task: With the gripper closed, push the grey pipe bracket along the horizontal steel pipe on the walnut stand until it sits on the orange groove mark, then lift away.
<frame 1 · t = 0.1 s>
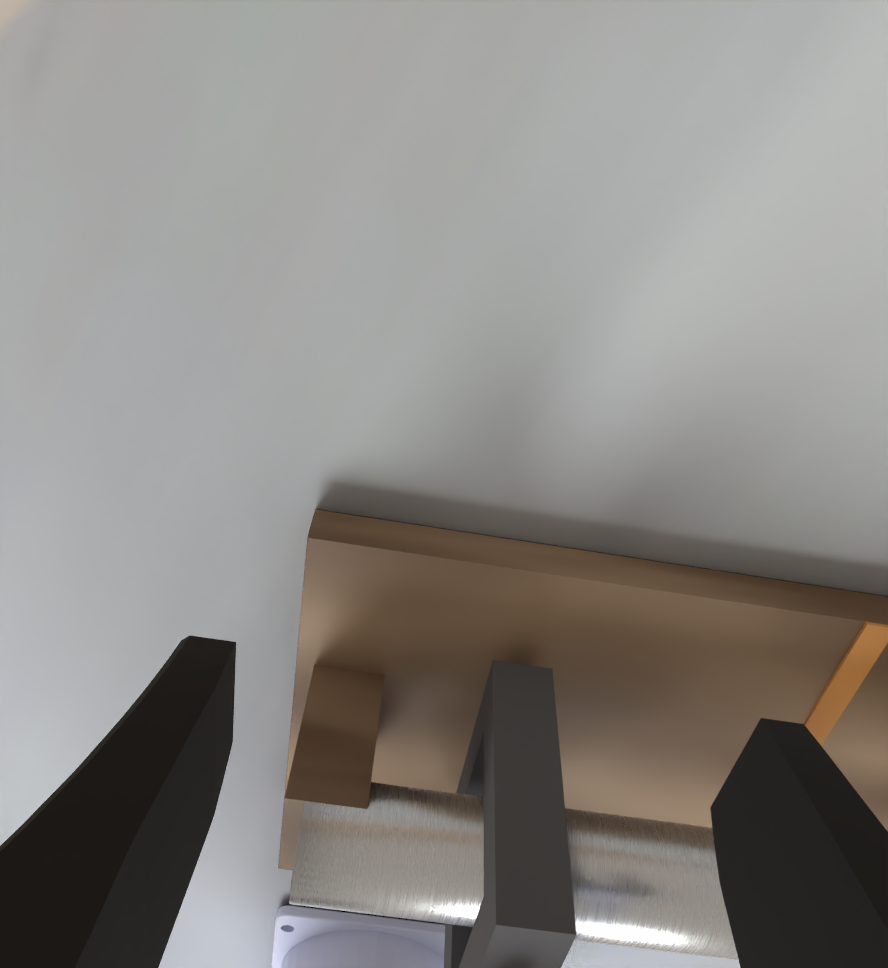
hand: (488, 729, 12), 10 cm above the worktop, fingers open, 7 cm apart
grey pipe bracket: (499, 891, 21), point 6 cm above the worktop, slide at 0.0 cm
pipe stand: (654, 717, 26), on the worktop
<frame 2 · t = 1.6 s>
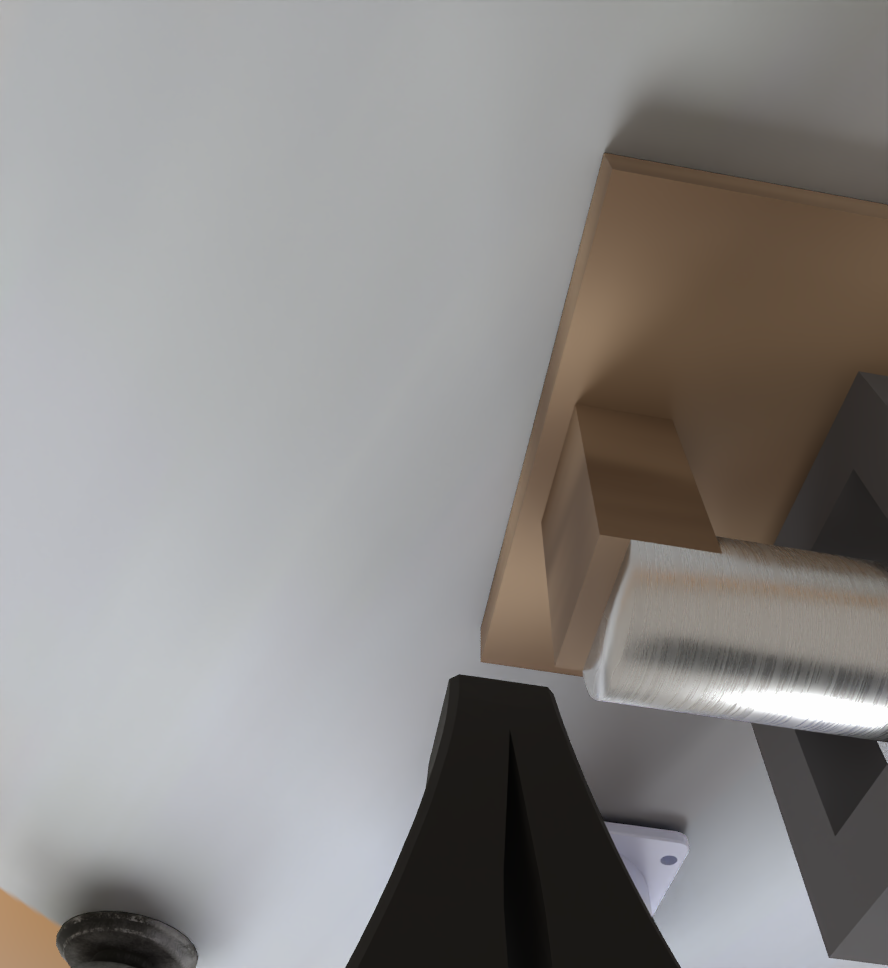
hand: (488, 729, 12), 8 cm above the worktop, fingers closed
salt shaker: (129, 944, 32), on the worktop
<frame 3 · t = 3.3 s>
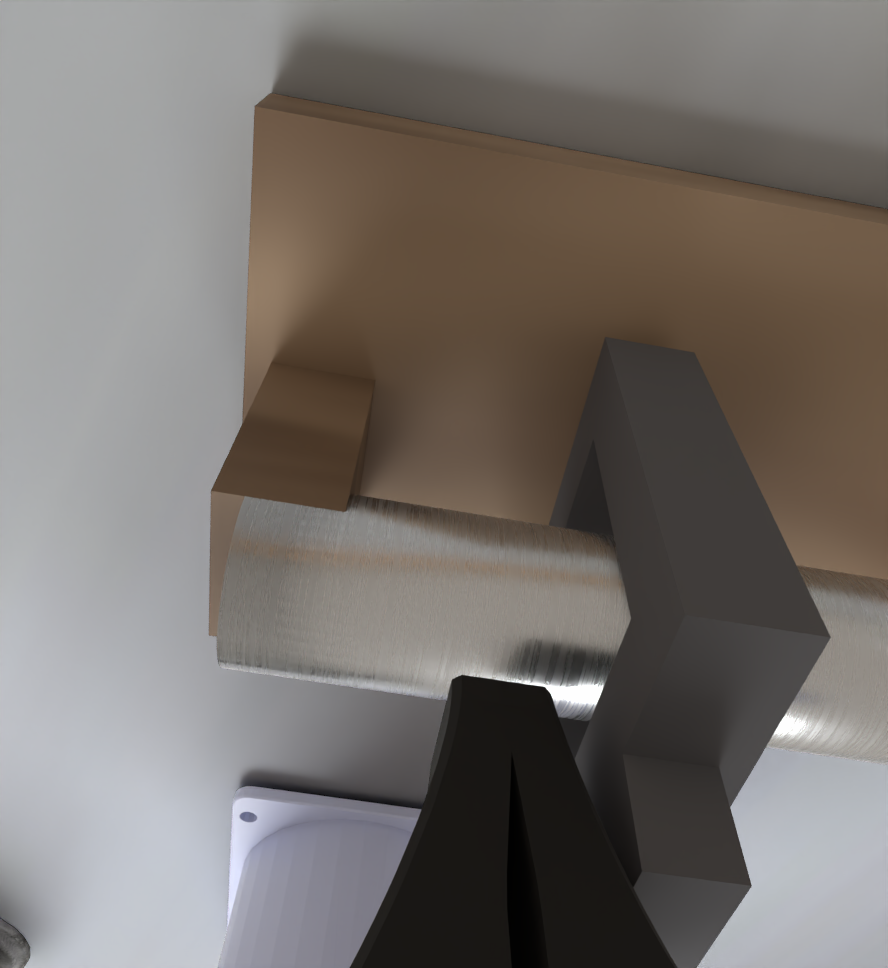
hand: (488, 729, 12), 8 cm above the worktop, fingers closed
grey pipe bracket: (626, 664, 13), point 6 cm above the worktop, slide at 1.2 cm, touching gripper
pipe stand: (756, 479, 19), on the worktop
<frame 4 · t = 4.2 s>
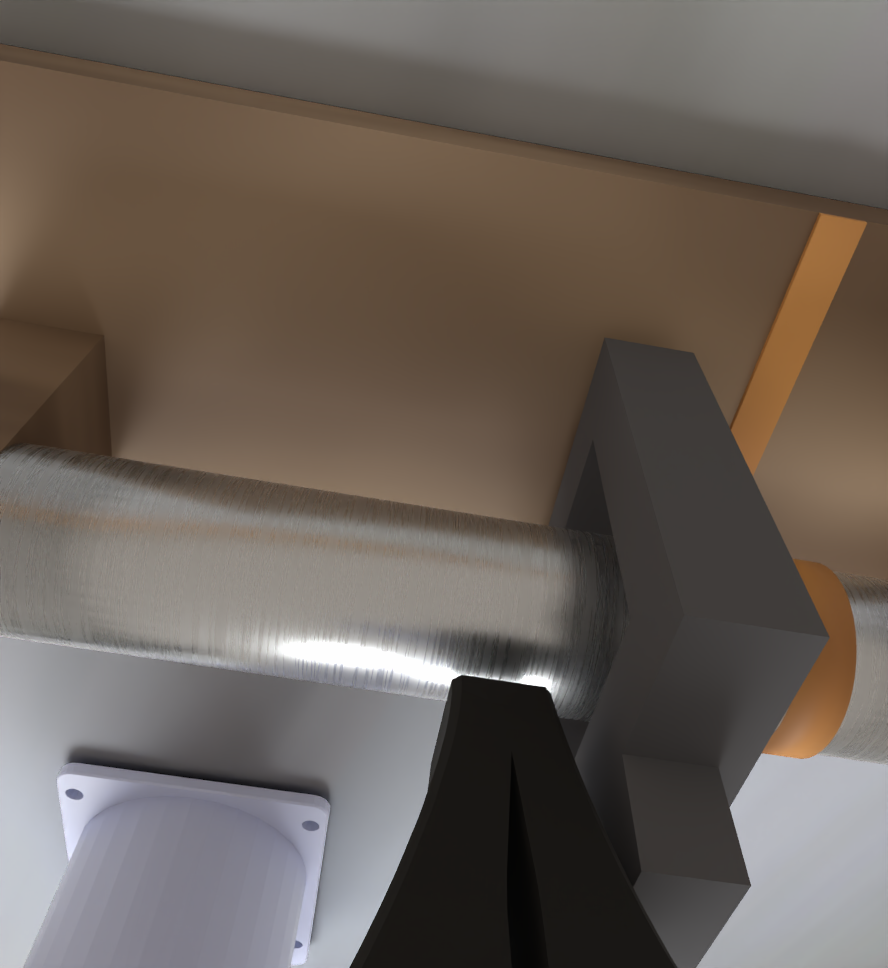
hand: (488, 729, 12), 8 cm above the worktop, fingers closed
grey pipe bracket: (626, 664, 13), point 6 cm above the worktop, slide at 6.3 cm, touching gripper
pipe stand: (526, 442, 18), on the worktop
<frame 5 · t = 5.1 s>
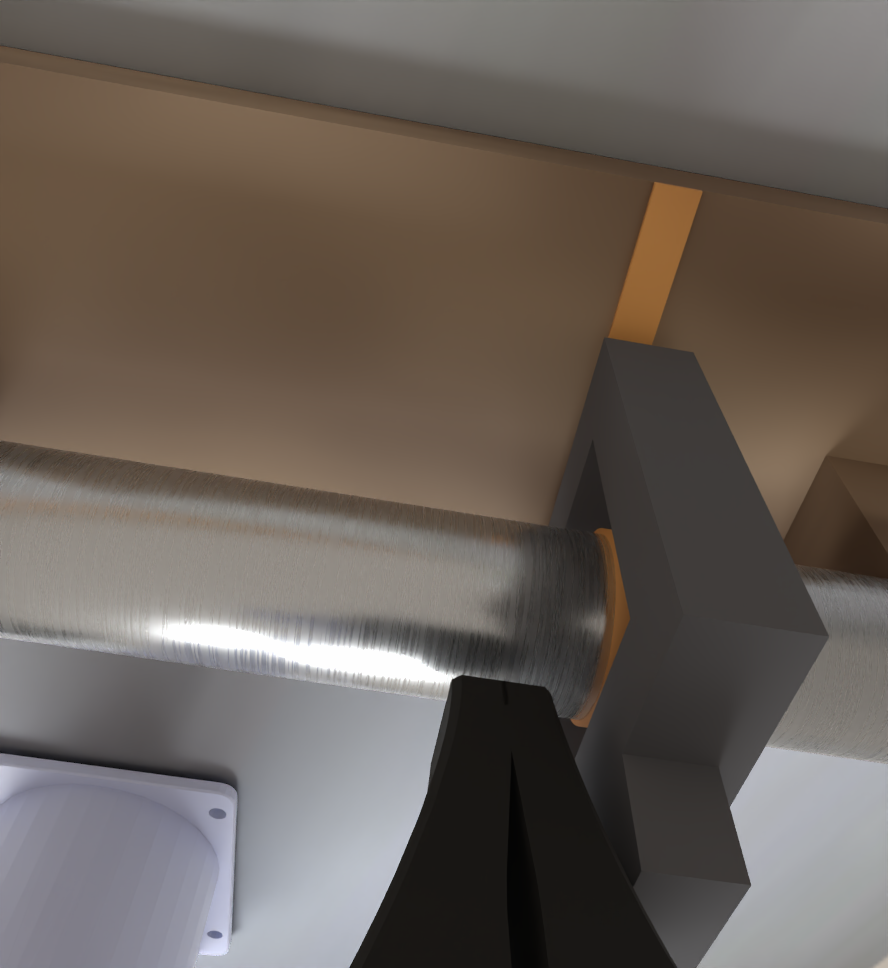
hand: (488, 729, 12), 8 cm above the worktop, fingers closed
grey pipe bracket: (626, 664, 13), point 6 cm above the worktop, slide at 9.1 cm, touching gripper
pipe stand: (397, 421, 18), on the worktop
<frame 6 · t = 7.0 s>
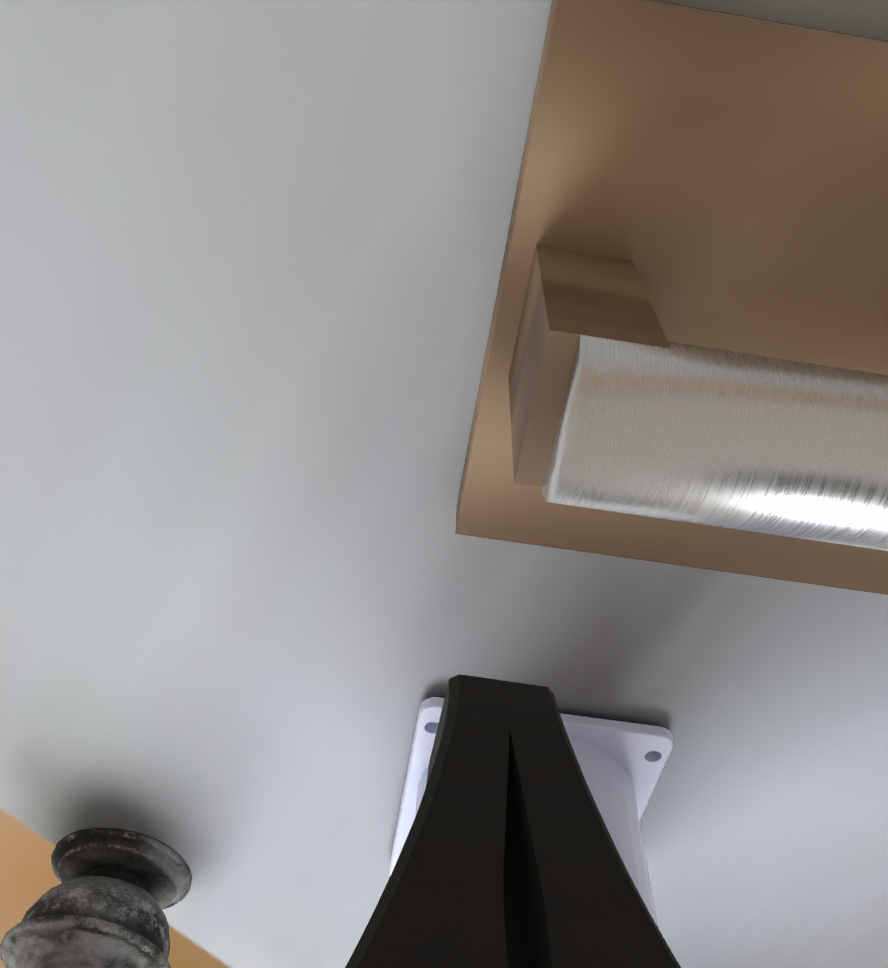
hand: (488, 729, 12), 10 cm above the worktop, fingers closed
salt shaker: (124, 865, 32), on the worktop
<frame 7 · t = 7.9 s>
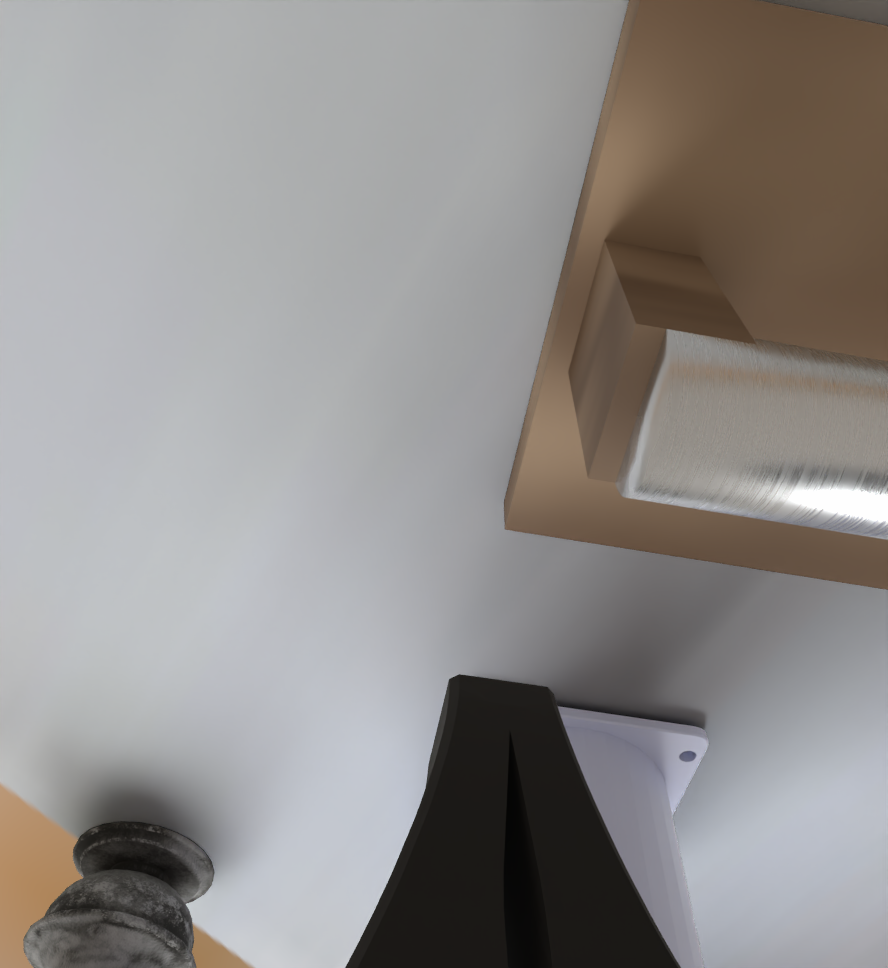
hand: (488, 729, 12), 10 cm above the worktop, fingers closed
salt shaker: (146, 859, 32), on the worktop
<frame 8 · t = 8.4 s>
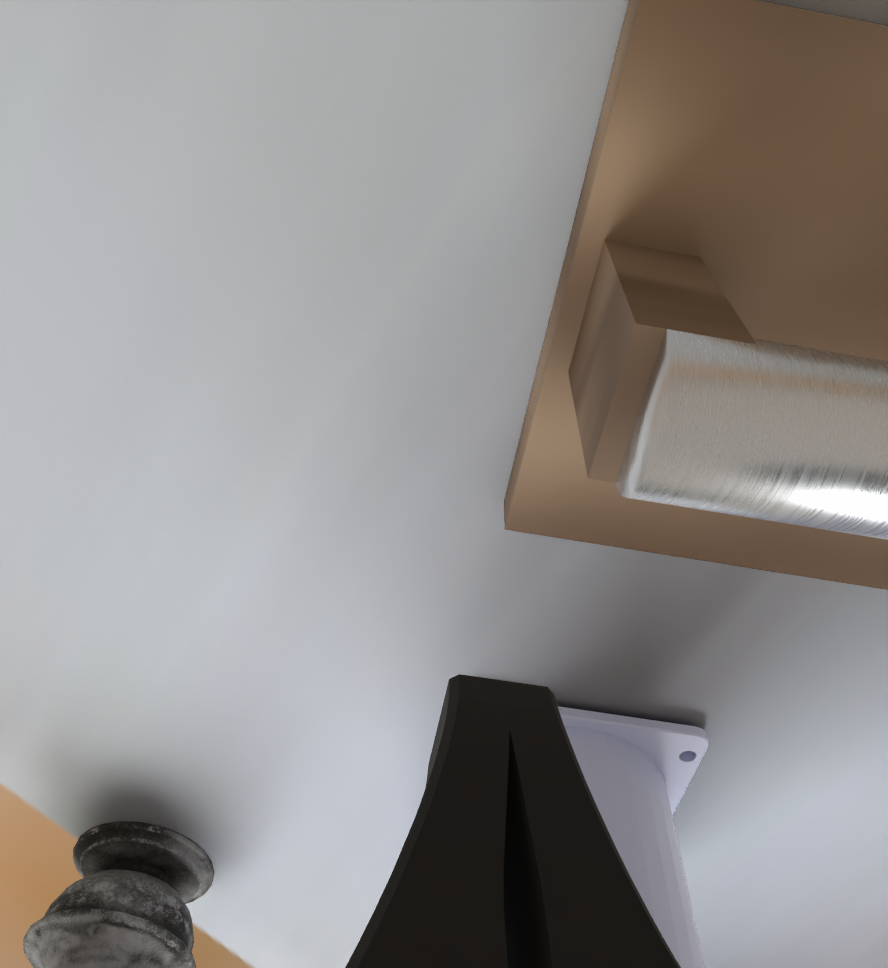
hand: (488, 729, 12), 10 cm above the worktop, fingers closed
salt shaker: (146, 859, 32), on the worktop
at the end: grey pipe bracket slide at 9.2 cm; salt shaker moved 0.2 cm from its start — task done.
